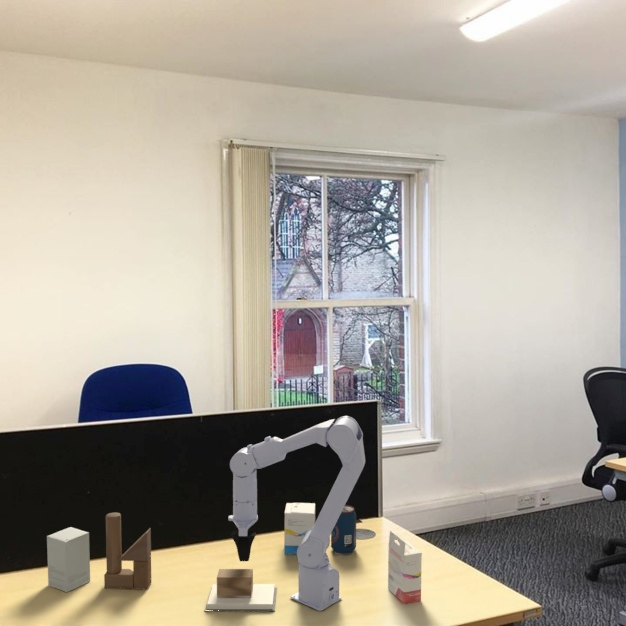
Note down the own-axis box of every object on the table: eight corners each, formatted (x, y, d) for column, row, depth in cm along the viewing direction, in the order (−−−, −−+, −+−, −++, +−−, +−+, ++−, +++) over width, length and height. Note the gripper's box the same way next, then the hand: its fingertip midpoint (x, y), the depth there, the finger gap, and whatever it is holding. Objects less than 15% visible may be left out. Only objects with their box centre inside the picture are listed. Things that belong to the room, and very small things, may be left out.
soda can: (327, 547, 194) (327, 505, 193) (350, 544, 196) (351, 502, 195) (335, 557, 187) (336, 513, 187) (359, 554, 190) (360, 511, 189)
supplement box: (91, 581, 173) (90, 532, 172) (66, 593, 166) (64, 542, 166) (72, 574, 177) (71, 525, 176) (47, 585, 170) (45, 535, 170)
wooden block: (147, 590, 168) (146, 517, 167) (104, 589, 169) (102, 517, 167) (151, 583, 172) (150, 512, 171) (109, 582, 172) (107, 511, 171)
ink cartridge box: (422, 601, 163) (423, 540, 162) (403, 604, 162) (404, 543, 160) (405, 585, 171) (405, 527, 170) (386, 588, 170) (387, 530, 168)
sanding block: (252, 589, 166) (252, 569, 165) (251, 598, 161) (251, 577, 161) (219, 589, 166) (219, 568, 165) (217, 598, 161) (216, 577, 161)
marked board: (276, 588, 169) (276, 582, 169) (274, 611, 158) (274, 605, 158) (211, 588, 169) (211, 582, 169) (204, 611, 158) (204, 605, 158)
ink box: (314, 555, 189) (315, 513, 188) (283, 554, 189) (283, 512, 188) (315, 542, 197) (315, 502, 197) (285, 542, 198) (285, 501, 197)
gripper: (231, 489, 173) (231, 541, 174) (225, 509, 159) (225, 567, 160) (259, 488, 173) (259, 541, 174) (256, 509, 159) (256, 566, 160)
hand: (245, 553), depth 167 cm, fingers open, 7 cm apart
